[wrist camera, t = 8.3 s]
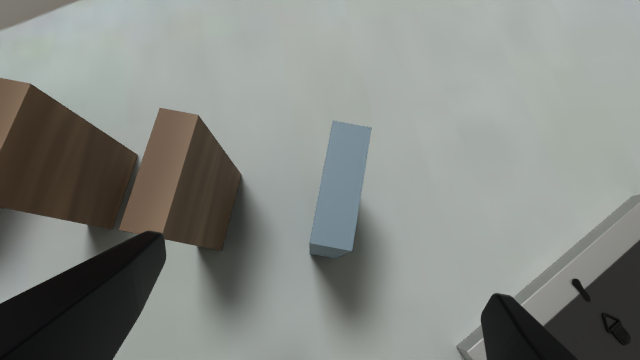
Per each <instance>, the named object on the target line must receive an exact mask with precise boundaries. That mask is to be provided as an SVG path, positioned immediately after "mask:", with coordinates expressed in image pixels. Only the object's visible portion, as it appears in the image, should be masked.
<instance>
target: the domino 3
mask: <svg viewBox="0 0 640 360" xmlns="http://www.w3.org/2000/svg"><path fill="white" fill-rule="evenodd" d="M370 134H371V127H365V126H360V125H354V124H349V123H343V122H338V121H333V122H332V127H331V133H330V138H329V143H328V148H327V154H326V159H325V164H324V169H323V175H322V180H321V185H320V190H319V196H318V201H317V206H316V211H315V217H314V222H313V227H312V233H311V238H310V254H314V255H319V256H324V257H329V258H337V257H340V256H342V255H344V254H347V253H349V252H351V251H352V248H353V242H354V236H355V229H356V223H357V217H358V210H359V204H360V198H361V191H362V185H363V179H364V172H365V166H366V160H367V153H368V147H369V141H370Z"/></svg>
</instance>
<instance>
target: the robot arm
mask: <svg viewBox="0 0 640 360" xmlns="http://www.w3.org/2000/svg"><path fill="white" fill-rule="evenodd" d="M165 261H166V248H165V239H164V235H163V234H162V233H161V232H156V231H150V230H148V231H145V232H143V233H141V234H139V235H137V236H135V237H133V238H131V239H129V240H127V241H125V242H123V243H121V244H119V245H117V246H115V247H113V248H111V249H109V250H107V251H105V252H103V253H101V254H99V255H97V256H95V257H93V258H91V259H89V260H87V261H85V262H83V263H81V264H79V265H77V266H75V267H73V268H71V269H69V270H67V271H65V272H63V273H61V274H59V275H57V276H55V277H53V278H51V279H49V280H47V281H45V282H43V283H41V284H39V285H37V286H35V287H33V288H31V289H29V290H27V291H25V292H23V293H21V294H19V295H17V296H15V297H13V298H11V299H9V300H7V301H5V302H3V303H1V304H0V360H113V358H114V356H115V355H116V353H117V351H118V350H119V348H120V347H121V345H122V343H123V342H124V340H125V338H126V337H127V335H128V334H129V332H130V330H131V329H132V327H133V325H134V324H135V322H136V320H137V319H138V317H139V315H140V314H141V312H142V310H143V308H144V306H145V304H146V301H147V299H148V297H149V295H150V293H151V291H152V289H153V287H154V285H155V283H156V280H157V278H158V276H159V274H160V272H161V270H162V268H163V266H164V264H165ZM481 326H482V332H483V338H484V345H485V351H486V358H487V360H579V359H578V358H576V357H575V356H574V355H573V354H572V353H571V352H570V351H569V350H568V349H567V348H566V347H565V346H564V345H563V344H562V343H561V342H560V341H558V340H557V339H556V338H555V337H554V336H553V335H552V334H551V333H550V332H549V331H548V330H547V329H546V328H545V327H544V326H543V325H542V324H540V323H539V322H538V321H537V320H536V319H535V318H534V317H533V316H532V315H531V314H530V313H529V312H528V311H527V310H526V309H525V308H523V307H522V306H521V305H520V304H519V303H518V302H517V301H516V300H515V299H514V298H513V297H511V296H509V295H505V294H499V293H495V294H493V295H492V296H491V298H490V299H489V301H488V303H487V305H486V306H485V308H484V310H483V312H482V314H481Z"/></svg>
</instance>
